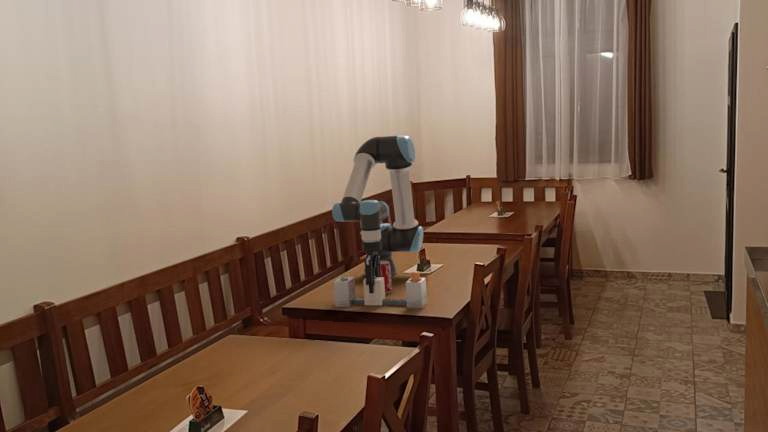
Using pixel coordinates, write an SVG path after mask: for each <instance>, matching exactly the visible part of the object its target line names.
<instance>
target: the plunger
mask: <svg viewBox="0 0 768 432" xmlns="http://www.w3.org/2000/svg"><path fill="white" fill-rule="evenodd" d="M411 277H412V281H420V278H421V277H420V271H417V270H416V271H412V272H411Z"/></svg>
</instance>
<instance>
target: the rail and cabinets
mask: <svg viewBox="0 0 768 432" xmlns="http://www.w3.org/2000/svg"><path fill="white" fill-rule="evenodd" d="M332 283H333V293H334V295H333V297H334V307H335V308H337V307H339V308H340V307H341V308H342V307H343V308H350V307H351V306H366V305H365V300H364V298H357V297H356V296H357V294H356V278H355V276H340V277H337V279H335V280H334V281H332ZM405 295H406V296H405V297H406V298H405V299H403V298H385V299H383V300H382V301H383V305H379V306H381V307H382V306H384V307H385V306H386V307H388V306H389V307H391V306H392V307H406V309H424V308H425V306H426V305H425V304H427V303H428V298H427V295H428V294H427V277H420V281H412V276H411V277H410V278H408V280H407V281H405Z"/></svg>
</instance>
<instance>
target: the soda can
mask: <svg viewBox="0 0 768 432" xmlns="http://www.w3.org/2000/svg"><path fill="white" fill-rule="evenodd" d="M380 264H381V277H384V284H385V295H388V294H391V293H392V291H393V284H392V282H393V281H392V276H391V266H390V264H389V261H380Z"/></svg>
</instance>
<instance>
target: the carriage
mask: <svg viewBox="0 0 768 432" xmlns="http://www.w3.org/2000/svg"><path fill="white" fill-rule="evenodd" d="M362 282H363V299H364V300H365V305H364V306H380V305H383V301H382V300H383V299H386V294H385V284H384V277H376V276H375V281H374V283H375V285H376V301H369V290H368V285H366V277H365V278H363V279H362Z"/></svg>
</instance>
